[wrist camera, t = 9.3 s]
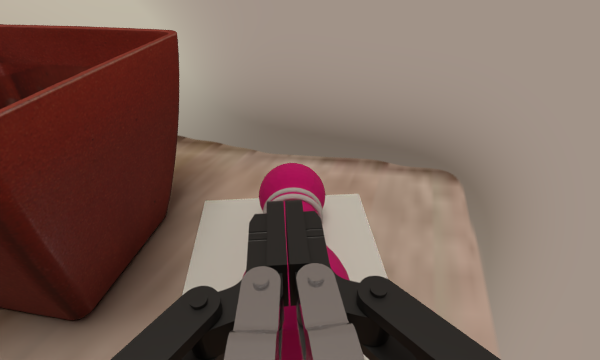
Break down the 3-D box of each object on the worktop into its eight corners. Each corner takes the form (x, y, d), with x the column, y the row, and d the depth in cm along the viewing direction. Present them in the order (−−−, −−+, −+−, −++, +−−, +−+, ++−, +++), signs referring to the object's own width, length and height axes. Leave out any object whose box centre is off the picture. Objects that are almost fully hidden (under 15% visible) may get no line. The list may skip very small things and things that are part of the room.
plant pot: (56, 177, 41) (-21, 20, 31) (212, 195, 38) (181, 27, 28) (-142, 326, 25) (-417, 105, 16) (97, 376, 22) (-60, 141, 13)
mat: (415, 367, 23) (417, 363, 22) (162, 386, 22) (160, 382, 22) (358, 196, 37) (358, 193, 37) (205, 203, 36) (205, 200, 36)
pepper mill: (282, 413, 21) (283, 212, 38) (390, 371, 19) (340, 179, 36) (199, 357, 18) (240, 165, 35) (319, 300, 16) (300, 126, 33)
